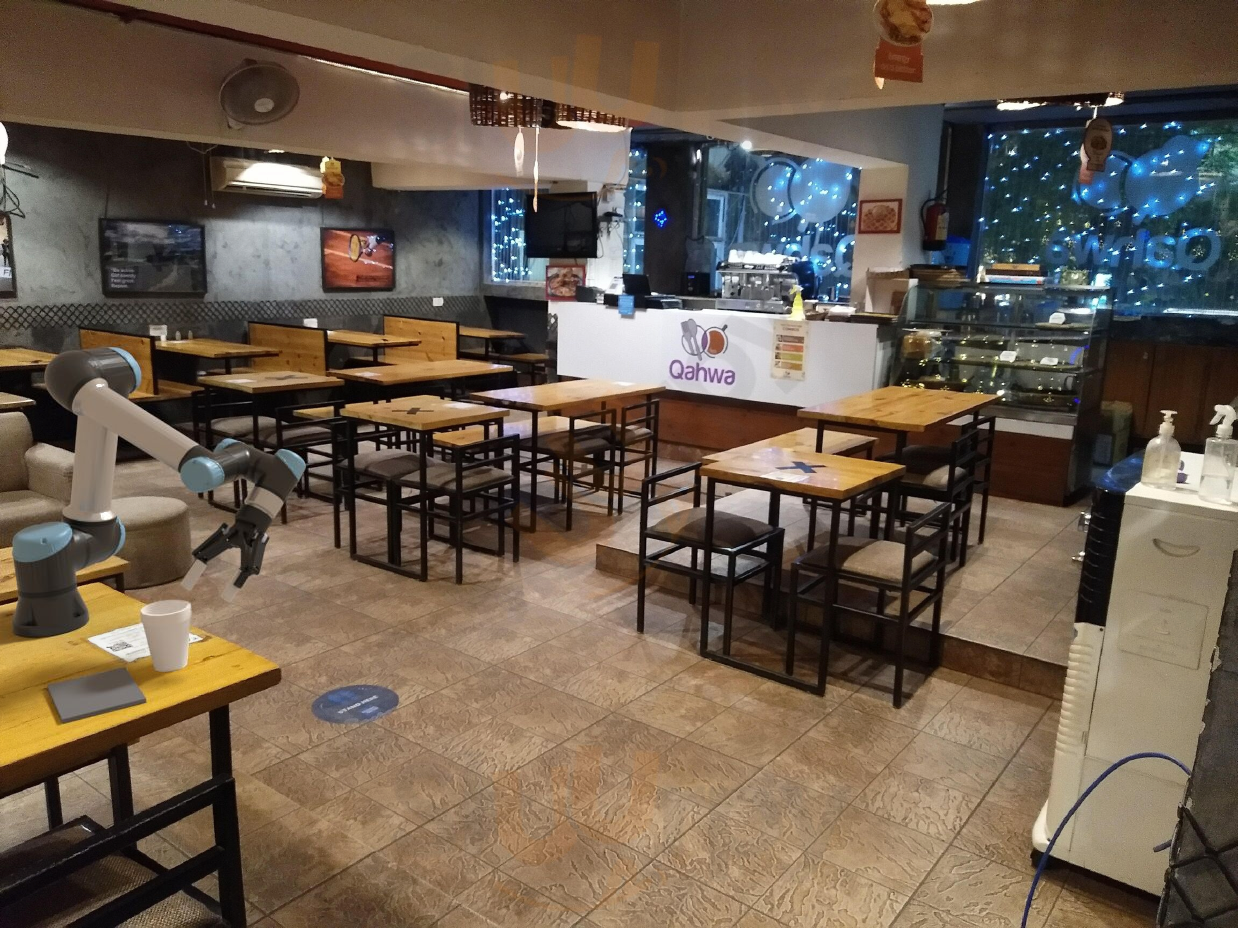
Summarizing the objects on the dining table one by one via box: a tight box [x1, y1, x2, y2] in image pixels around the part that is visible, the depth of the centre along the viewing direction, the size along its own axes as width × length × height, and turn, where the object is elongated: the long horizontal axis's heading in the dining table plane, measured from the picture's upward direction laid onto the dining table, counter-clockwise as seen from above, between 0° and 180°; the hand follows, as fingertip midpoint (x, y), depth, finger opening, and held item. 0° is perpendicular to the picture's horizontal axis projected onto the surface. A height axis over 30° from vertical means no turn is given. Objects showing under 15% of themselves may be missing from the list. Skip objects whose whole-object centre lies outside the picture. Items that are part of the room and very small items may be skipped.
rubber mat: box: [46, 666, 147, 724], centre depth 177 cm, size 18×14×1 cm
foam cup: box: [139, 599, 192, 673], centre depth 190 cm, size 10×9×13 cm
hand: (204, 593), depth 195 cm, fingers open, 13 cm apart
